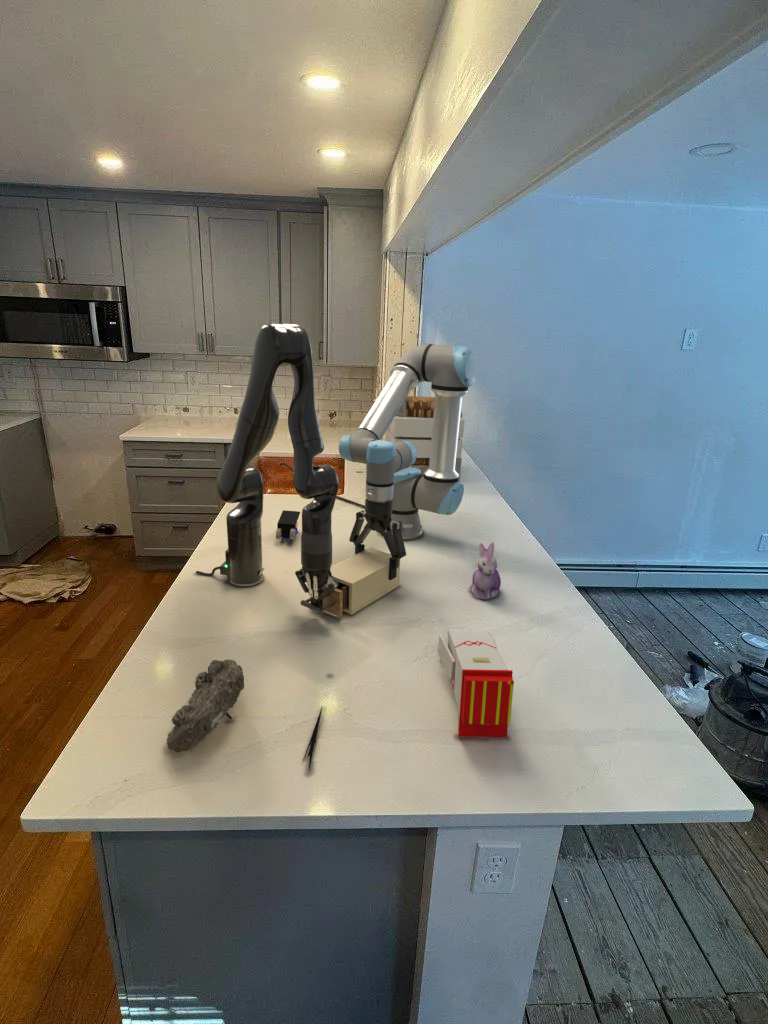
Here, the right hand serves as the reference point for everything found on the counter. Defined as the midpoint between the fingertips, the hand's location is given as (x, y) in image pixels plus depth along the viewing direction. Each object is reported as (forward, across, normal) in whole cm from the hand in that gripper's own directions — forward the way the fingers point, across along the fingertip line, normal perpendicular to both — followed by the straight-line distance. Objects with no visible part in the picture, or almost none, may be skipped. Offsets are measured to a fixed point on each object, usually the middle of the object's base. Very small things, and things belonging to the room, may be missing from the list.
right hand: (375, 572), depth 161 cm
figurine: (+4, +26, +17) cm, 32 cm away
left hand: (+2, 0, -24) cm, 25 cm away
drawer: (+3, 0, -14) cm, 14 cm away
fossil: (+4, +10, -64) cm, 65 cm away
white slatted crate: (+4, -55, +108) cm, 121 cm away
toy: (+4, +44, -25) cm, 51 cm away
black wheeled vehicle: (+4, -43, +8) cm, 44 cm away
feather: (+4, +26, -51) cm, 58 cm away
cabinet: (+4, 0, -7) cm, 8 cm away
